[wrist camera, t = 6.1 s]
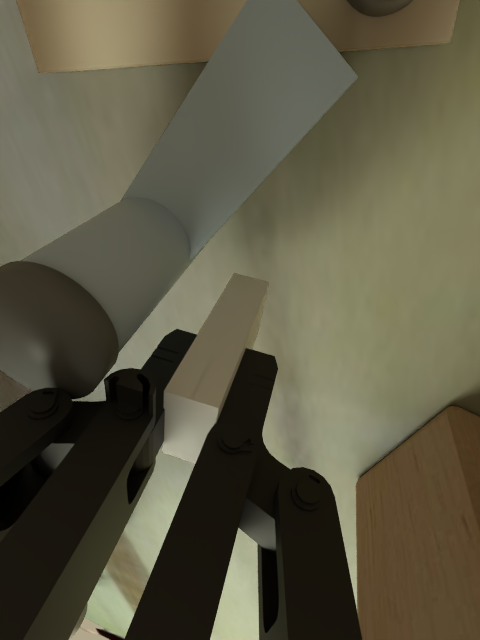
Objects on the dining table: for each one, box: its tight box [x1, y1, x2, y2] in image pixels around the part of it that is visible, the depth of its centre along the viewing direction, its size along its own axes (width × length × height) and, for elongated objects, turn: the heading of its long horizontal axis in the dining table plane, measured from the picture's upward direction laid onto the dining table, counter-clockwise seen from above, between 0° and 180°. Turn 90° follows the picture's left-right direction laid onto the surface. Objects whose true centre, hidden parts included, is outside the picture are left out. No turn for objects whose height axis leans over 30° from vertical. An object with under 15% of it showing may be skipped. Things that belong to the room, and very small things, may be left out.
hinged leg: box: [0, 0, 358, 399], centre depth 10 cm, size 3×10×9 cm, turn 139°
